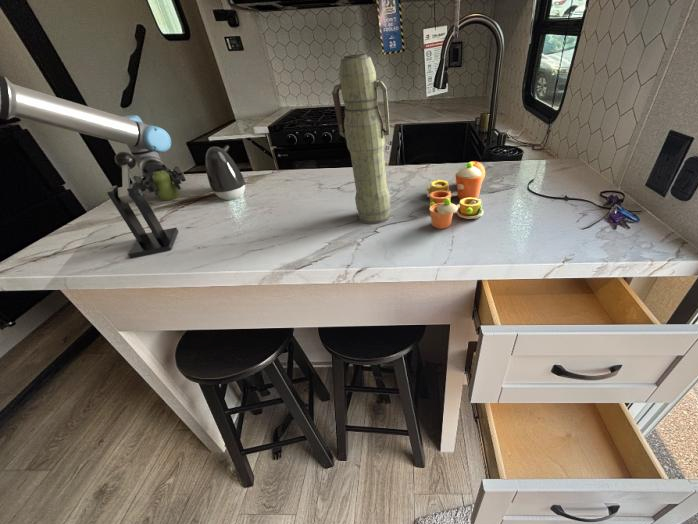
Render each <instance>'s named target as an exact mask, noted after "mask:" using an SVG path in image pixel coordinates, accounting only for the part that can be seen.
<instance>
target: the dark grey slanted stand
mask: <svg viewBox="0 0 698 524" xmlns="http://www.w3.org/2000/svg"><path fill="white" fill-rule="evenodd" d="M118 188H119V185H112V187H110V188H109V190H107V191H106V194H107V195H108V197H109V199H110V200H111V202H112V204H113V205H114V207H115V208H116V210H117V211H118V213H119V215H120V216H121V218H122V219H123V221H124V222H125V224H126V226H127V227H128V228H129V230H130V232H131V233H132V235H133V236H134V238H135V242H134V243H133V245H132V247H131V248H130V250H129V252H128V253H127V255H128V257H129V259H136V258H140V257H143V256H149V255H154V254H155V255H156V254H159V253H164V252H170V251H172V249H173V247H174V244H175V241H176V239H177V236H178V234H179V230H178V228H177V227H171V228H166V229H164V228H163V227H162V225H161V223H160V221H159V219H158V217H157V215H156V214H155V213H154V210H153V209H152V207H151V205H150V203H149V202H148V200H147V198H146V196H145V194H144V193H143V191H141V189H140V187H139V186H138V184H137V182H135V181H134V182H132V183H130V186H129V187H128V188H127V190H128V192H129V194H130V195H131V197H132V199H133V201H134V202H133V203H134V204H135V206H136V207H137V210H138V211H139V213H140V215H141V216H142V218H143V220H144V221H145V222H146V224H147V226H148V228H149V230H150V231H151V232H150V231H149V232H146V230H145V228H144V226H143V225H142V224H141V221H140V220H139V219H138V217H137V215H136V214H135V212H134V210H133V209H132V207H131V205H130V203H126V204H125V203H124V202H123V201H122V200H121V199H120V198H119V197H118Z"/></svg>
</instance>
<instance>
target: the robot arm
mask: <svg viewBox="0 0 698 524" xmlns="http://www.w3.org/2000/svg"><path fill="white" fill-rule="evenodd" d="M12 118H18V119H20V120H21V119H22V120H26V121H30V122H34V123H38V124H41V125H46V126H50V127H54V128H58V129H63V130H66V131H71V132H75V133H79V134H84V135H86V136H91V137H95V138H99V139H104V140H108V141H111V142H116V143H120V144H124V145H126V146H127V148H128V149H129V151H130V154H131V155H132V156H133V157H134V158H135V160H136V165H137V167H138V169H139V170H140V172H141V173H142V174H141V175H133V176H132V178H133V180H134V183H135V182H137V184H138V186H139V187H140V189H141V191H142V192H145V191H148V193H150V194H151V193H154V195H155V196H159V194H158V192H157V190H156V185H155V183H154V181H153V178H152V176H153V172H158V171H162V170H163V171H166V173H168V174H169V176H170V179H171V181H172V183H173V184H174V185H175V186H176V187H177V189H178V191H179V190H182V188H181V186H180V185H181V184H182V182H185V181H187V180H186V177H185V175H184V173H183V172H182V171H181V170H180V168H179V166H174V167H173V168H172V169H171V168H168V167H167V165H166V164H164V162H163V160H162V159H161V157H160V155H159V153H165V152H168V151H169V150H170V149H171V146H172V138H171V136H170V134H169V132H167V131H166V130H165V129H164V128H161V127H159V126H156V125H150V124H147V123H144V122H143V120H142V119H141V117H140V116H139V115H136V114H133V115H124V116H121V115H117V114H114V113H111V112H107V111H104V110H101V109H98V108H94V107H92V106H91V107H90V106H87V105H85V104H81V103H77V102H74V101H71V100H67V99H64V98H60V97H57V96H54V95H51V94H47V93H44V92H41V91H39V90H34V89H31V88H29V87H28V88H27V87H24V86H20V85H18V84H14V83H13V82H11V81H10V80H9V78H7V77H5V76H2V75H0V119H4V120H10V119H12Z"/></svg>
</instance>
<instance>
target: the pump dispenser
mask: <svg viewBox="0 0 698 524" xmlns="http://www.w3.org/2000/svg"><path fill="white" fill-rule="evenodd" d="M229 150H230V146H229V145H228V144H226V145H225V146H224V147H223V148H221V147H219V146H210V147H209V148H208V149H207V151H206V153H205V173H206V176H207V177H206V178H207V181H208V184H209V186H210V189H211V191H212V192H213V193H214V194H215V195H216V196H217V197H218V198H220V199H222V200H226V201H233V200H237V199H240V197H242V196H243V195H244V193H245V190H246V180H245V178H244V176H243V174H242V172H241V170H240V168H239V167H238V165H237V163H236V162H235V160H234V159H233V158H232V157H231V156H230V154H229V153H228V151H229Z"/></svg>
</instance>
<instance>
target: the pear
mask: <svg viewBox="0 0 698 524" xmlns="http://www.w3.org/2000/svg"><path fill="white" fill-rule="evenodd" d="M152 178H153V181H154V183H155V185H154V186H155V188H156V190H157V192H158V194H159V195H158V197H159V198H160V199H161V200H162V201H165V202H166V201H172V200H176V199H177V198H179V197H180V191H179V190H178V189H177V187H176V186H175V185H174V183H173V182H172V181H171V179H170V176H169V174H168V173H166V171H163V170H162V171H158V172H153V176H152Z"/></svg>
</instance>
